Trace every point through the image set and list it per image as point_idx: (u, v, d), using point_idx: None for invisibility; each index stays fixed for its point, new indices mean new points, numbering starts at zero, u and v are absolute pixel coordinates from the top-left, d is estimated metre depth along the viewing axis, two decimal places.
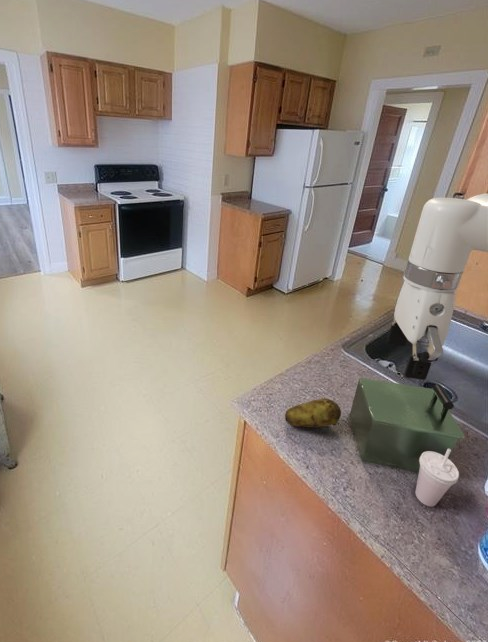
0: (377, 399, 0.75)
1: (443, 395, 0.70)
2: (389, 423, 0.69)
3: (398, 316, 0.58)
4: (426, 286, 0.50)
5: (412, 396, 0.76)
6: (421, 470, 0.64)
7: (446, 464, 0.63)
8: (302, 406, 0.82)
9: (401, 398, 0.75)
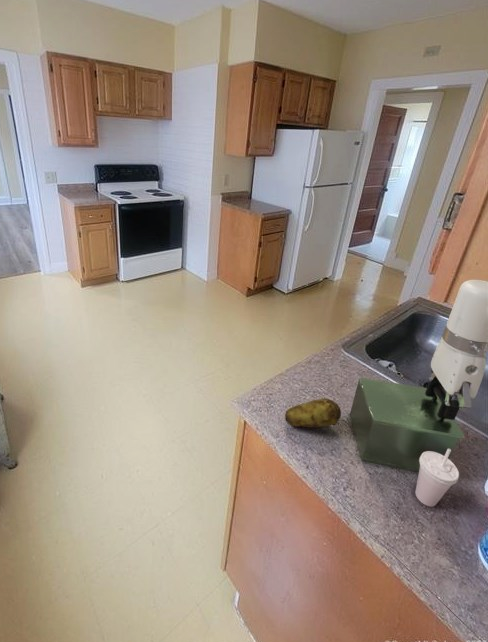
0: (377, 399, 0.75)
1: (443, 395, 0.70)
2: (389, 423, 0.69)
3: (435, 368, 0.71)
4: (462, 351, 0.63)
5: (412, 396, 0.76)
6: (421, 470, 0.64)
7: (446, 464, 0.63)
8: (302, 406, 0.82)
9: (401, 398, 0.75)
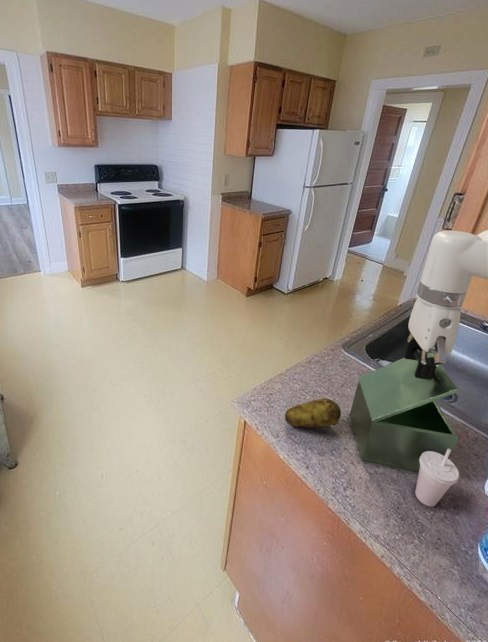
0: (374, 393, 0.74)
1: (419, 358, 0.68)
2: (387, 415, 0.68)
3: (412, 327, 0.69)
4: (436, 304, 0.61)
5: (406, 370, 0.74)
6: (421, 470, 0.64)
7: (446, 464, 0.63)
8: (302, 406, 0.82)
9: (396, 379, 0.74)
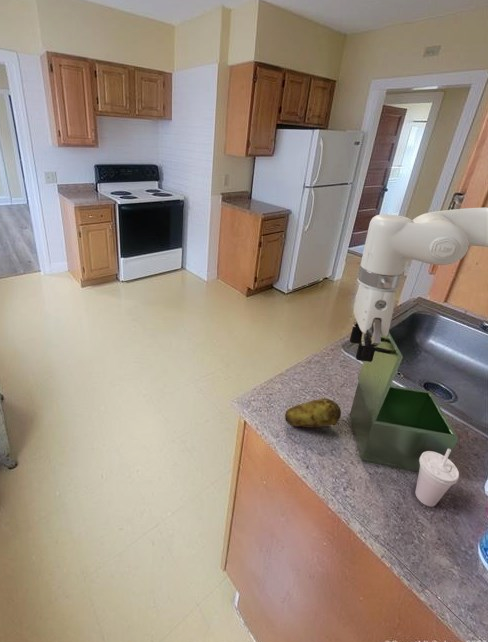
0: (367, 390, 0.74)
1: None
2: (376, 410, 0.68)
3: (355, 311, 0.70)
4: (372, 286, 0.62)
5: (375, 353, 0.74)
6: (421, 470, 0.64)
7: (446, 464, 0.63)
8: (302, 406, 0.82)
9: (372, 367, 0.74)
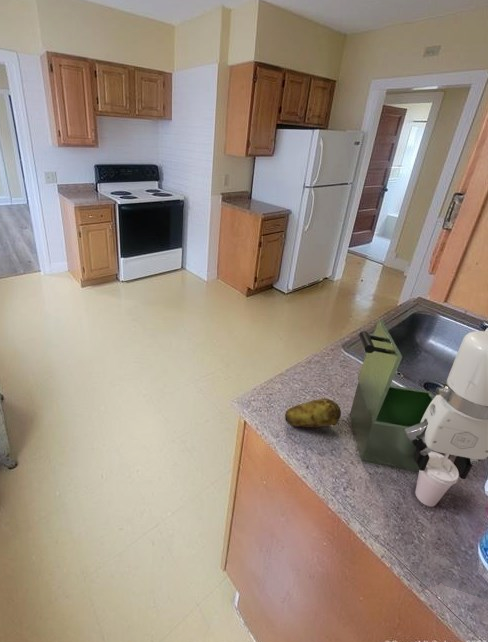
0: (367, 390, 0.74)
1: (362, 343, 0.70)
2: (376, 410, 0.68)
3: None
4: None
5: (374, 353, 0.74)
6: None
7: (446, 464, 0.63)
8: (302, 406, 0.82)
9: (372, 367, 0.74)
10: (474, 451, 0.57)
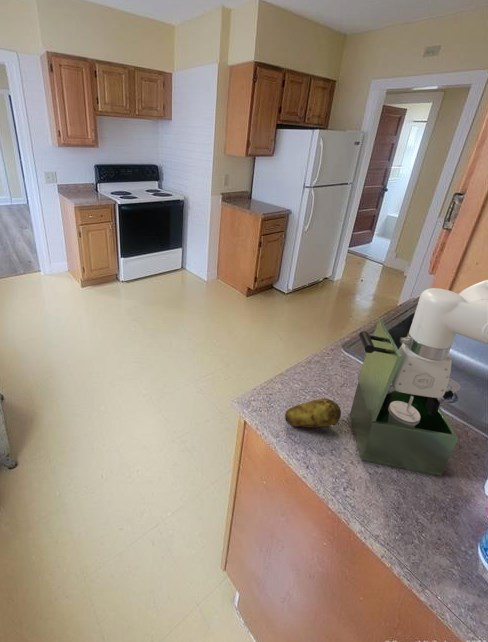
0: (367, 390, 0.74)
1: (362, 343, 0.70)
2: (376, 410, 0.68)
3: None
4: None
5: (374, 353, 0.74)
6: (389, 416, 0.76)
7: (410, 410, 0.75)
8: (302, 406, 0.82)
9: (372, 367, 0.74)
10: (432, 390, 0.68)
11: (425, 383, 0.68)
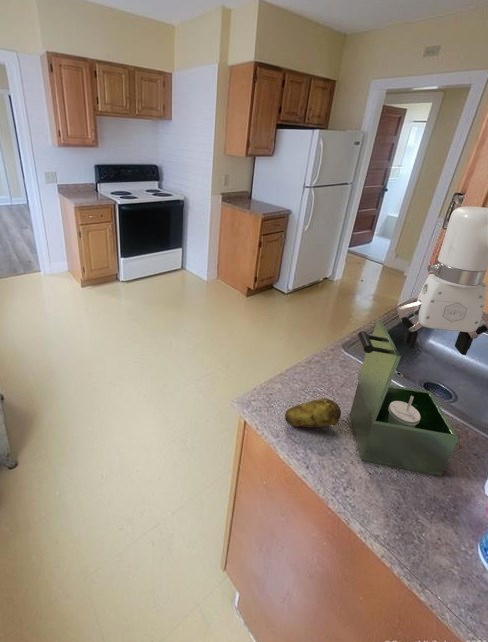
0: (366, 390, 0.74)
1: (361, 344, 0.70)
2: (376, 410, 0.68)
3: None
4: None
5: (374, 353, 0.74)
6: (389, 416, 0.76)
7: (410, 410, 0.75)
8: (302, 406, 0.82)
9: (371, 367, 0.74)
10: (464, 323, 0.61)
11: (457, 315, 0.61)
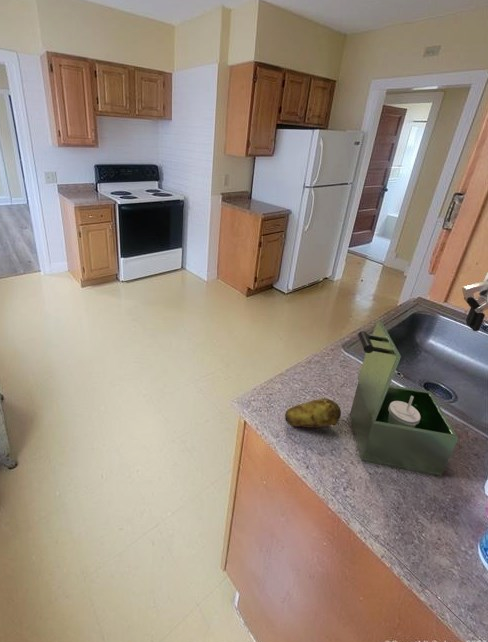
0: (366, 390, 0.74)
1: (361, 344, 0.70)
2: (376, 410, 0.68)
3: None
4: None
5: (374, 353, 0.74)
6: (389, 416, 0.76)
7: (410, 410, 0.75)
8: (302, 406, 0.82)
9: (371, 367, 0.74)
10: None
11: None
